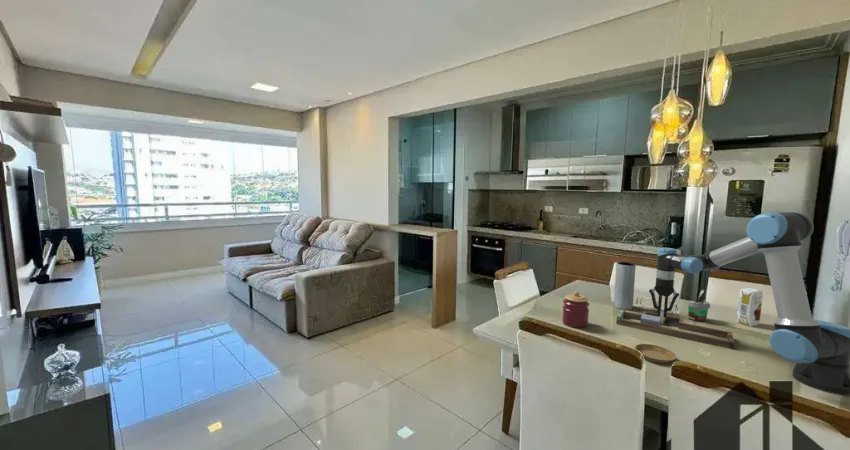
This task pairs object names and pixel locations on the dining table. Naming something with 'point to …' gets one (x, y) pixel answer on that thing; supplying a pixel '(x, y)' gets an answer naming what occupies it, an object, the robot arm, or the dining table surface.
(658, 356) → the plant saucer
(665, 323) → the track
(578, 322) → the canister
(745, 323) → the juice carton
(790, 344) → the robot arm
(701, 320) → the food container
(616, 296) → the vase
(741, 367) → the dining table surface
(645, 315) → the grey block
